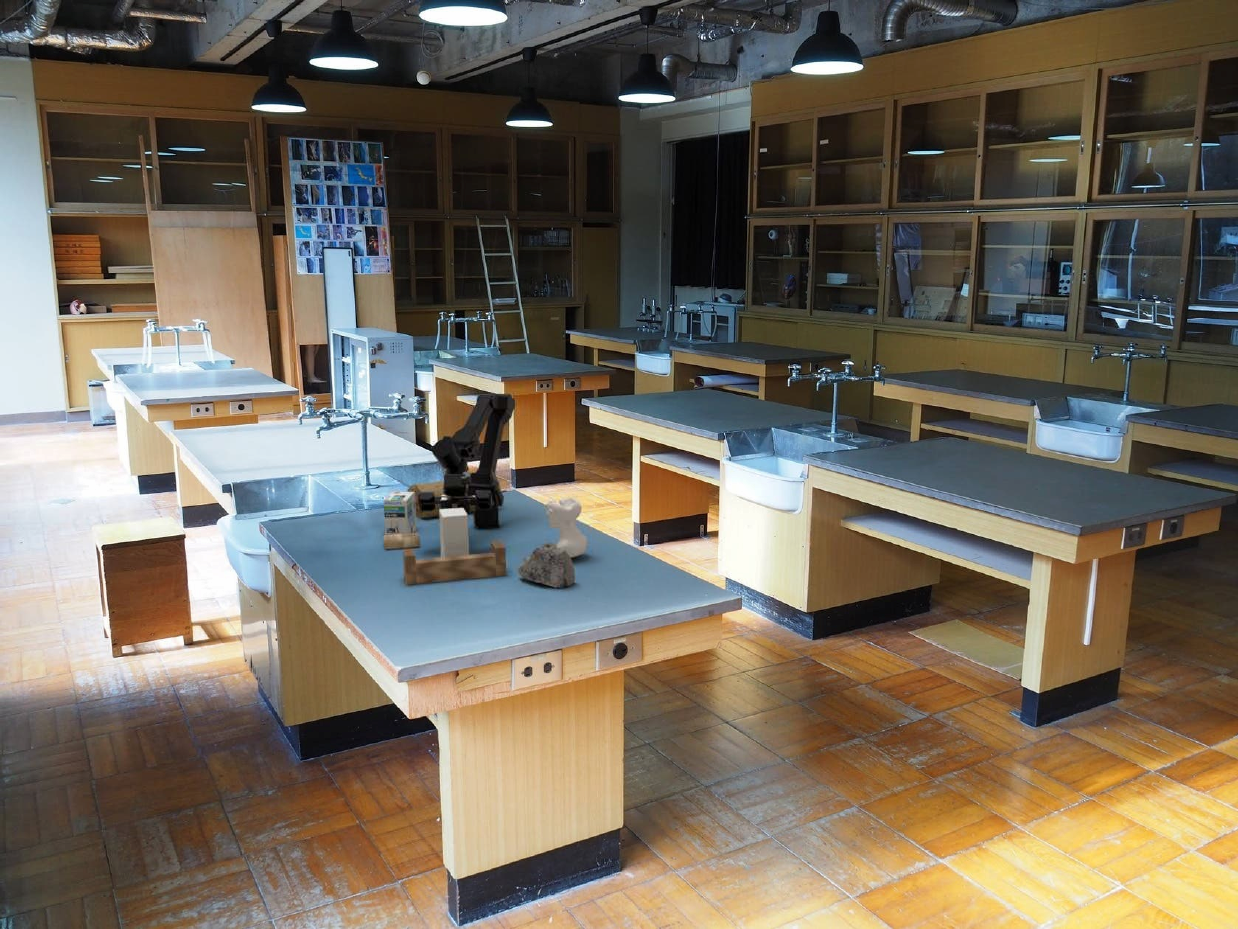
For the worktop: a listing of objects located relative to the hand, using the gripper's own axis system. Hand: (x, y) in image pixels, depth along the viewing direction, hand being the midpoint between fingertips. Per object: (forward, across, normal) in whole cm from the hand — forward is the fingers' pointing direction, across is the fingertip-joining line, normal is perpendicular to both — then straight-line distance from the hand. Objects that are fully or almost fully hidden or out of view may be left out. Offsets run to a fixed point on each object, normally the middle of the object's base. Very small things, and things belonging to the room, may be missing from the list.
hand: (454, 529), depth 264 cm
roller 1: (-4, -15, +15) cm, 22 cm away
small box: (+8, 0, +2) cm, 9 cm away
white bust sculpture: (+7, +28, +3) cm, 29 cm away
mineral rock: (+21, +23, -10) cm, 33 cm away
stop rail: (+16, +1, -6) cm, 18 cm away
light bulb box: (-12, -17, +22) cm, 30 cm away
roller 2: (-1, -14, +11) cm, 18 cm away
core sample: (-28, -4, +39) cm, 48 cm away
